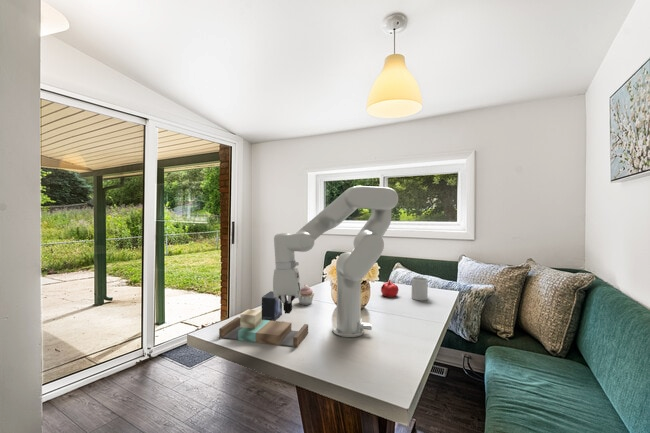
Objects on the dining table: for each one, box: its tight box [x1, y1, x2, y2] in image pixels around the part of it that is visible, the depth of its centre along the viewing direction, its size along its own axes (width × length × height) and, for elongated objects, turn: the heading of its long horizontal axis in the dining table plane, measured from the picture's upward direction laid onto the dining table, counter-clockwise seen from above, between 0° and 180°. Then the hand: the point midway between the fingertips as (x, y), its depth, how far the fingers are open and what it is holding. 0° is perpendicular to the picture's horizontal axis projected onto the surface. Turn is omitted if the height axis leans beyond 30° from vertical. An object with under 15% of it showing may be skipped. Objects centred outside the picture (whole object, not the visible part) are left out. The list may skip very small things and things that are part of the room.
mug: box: [411, 276, 429, 301], centre depth 171 cm, size 12×8×11 cm
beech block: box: [239, 308, 262, 329], centre depth 118 cm, size 6×6×5 cm
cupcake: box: [297, 284, 315, 306], centre depth 159 cm, size 9×9×10 cm
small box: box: [261, 290, 283, 321], centre depth 137 cm, size 11×6×10 cm, turn 168°
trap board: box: [218, 316, 309, 348], centre depth 117 cm, size 31×13×4 cm, turn 76°
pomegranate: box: [380, 279, 399, 298], centre depth 175 cm, size 10×10×9 cm
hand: (288, 312), depth 118 cm, fingers closed
